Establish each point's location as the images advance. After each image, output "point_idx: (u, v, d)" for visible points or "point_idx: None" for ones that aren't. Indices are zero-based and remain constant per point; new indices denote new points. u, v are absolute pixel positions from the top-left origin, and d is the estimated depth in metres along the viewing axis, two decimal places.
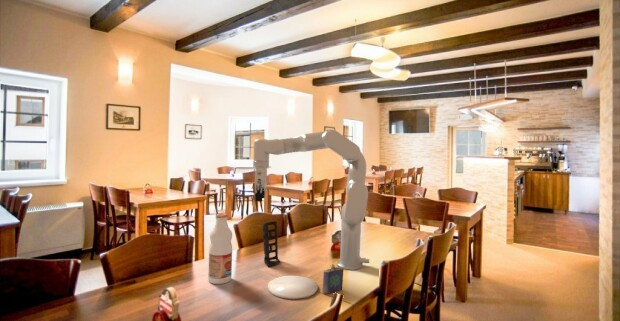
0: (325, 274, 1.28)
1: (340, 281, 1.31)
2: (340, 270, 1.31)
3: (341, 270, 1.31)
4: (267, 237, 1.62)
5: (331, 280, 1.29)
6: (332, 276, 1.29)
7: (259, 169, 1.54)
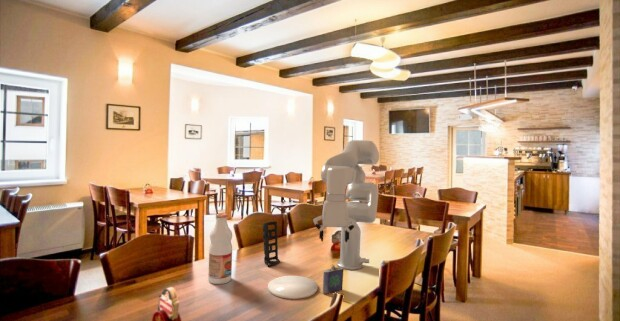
0: (325, 274, 1.28)
1: (340, 281, 1.31)
2: (340, 270, 1.31)
3: (341, 270, 1.31)
4: (267, 237, 1.62)
5: (331, 280, 1.29)
6: (332, 276, 1.29)
7: (346, 203, 1.30)
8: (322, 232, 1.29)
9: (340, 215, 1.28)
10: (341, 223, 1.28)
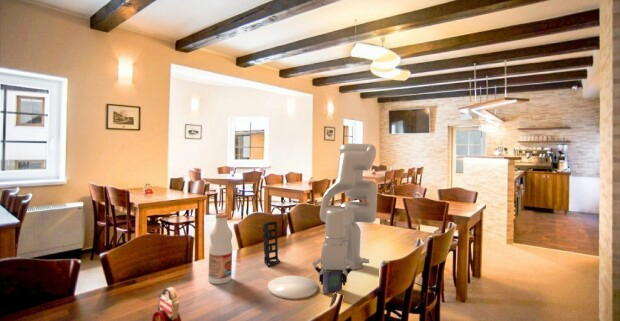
0: (325, 274, 1.28)
1: (340, 281, 1.31)
2: (340, 270, 1.31)
3: (341, 270, 1.31)
4: (267, 237, 1.62)
5: (330, 280, 1.29)
6: (331, 276, 1.29)
7: (345, 246, 1.30)
8: (322, 276, 1.29)
9: (339, 258, 1.28)
10: (340, 266, 1.29)
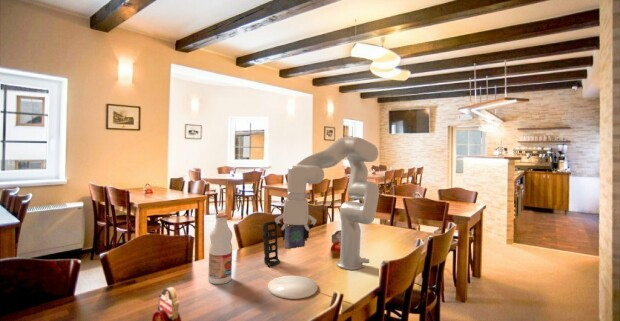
0: (286, 229, 1.29)
1: (302, 237, 1.33)
2: (302, 226, 1.32)
3: (303, 226, 1.33)
4: (267, 237, 1.62)
5: (292, 236, 1.30)
6: (293, 231, 1.31)
7: (307, 202, 1.32)
8: (284, 231, 1.30)
9: (300, 213, 1.30)
10: (302, 221, 1.30)
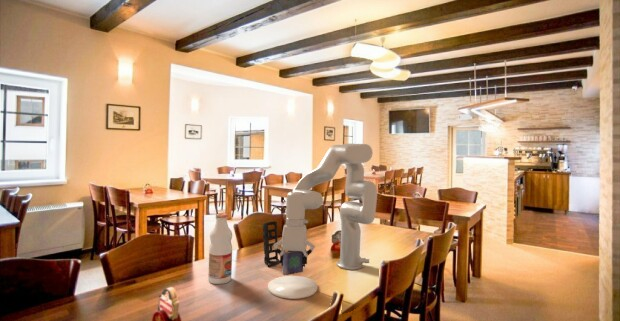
0: (284, 255, 1.29)
1: (300, 262, 1.33)
2: (300, 252, 1.33)
3: (301, 252, 1.33)
4: (267, 237, 1.62)
5: (290, 262, 1.31)
6: (291, 257, 1.31)
7: None
8: (282, 257, 1.31)
9: (299, 239, 1.30)
10: (300, 247, 1.30)
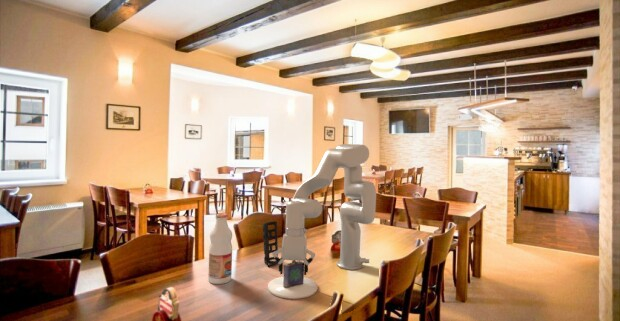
0: (285, 268, 1.30)
1: (301, 275, 1.33)
2: (301, 264, 1.33)
3: (302, 264, 1.33)
4: (267, 237, 1.62)
5: (291, 274, 1.31)
6: (292, 270, 1.31)
7: (305, 237, 1.32)
8: (281, 265, 1.31)
9: (298, 249, 1.30)
10: (300, 257, 1.30)
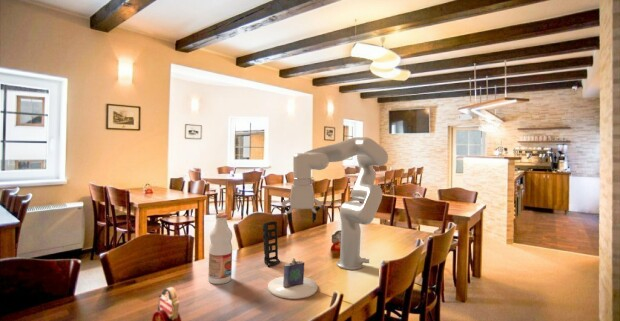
0: (285, 268, 1.30)
1: (301, 275, 1.33)
2: (301, 264, 1.33)
3: (302, 264, 1.33)
4: (267, 237, 1.62)
5: (291, 274, 1.31)
6: (292, 270, 1.31)
7: (312, 187, 1.40)
8: (290, 214, 1.39)
9: (306, 198, 1.38)
10: (308, 205, 1.38)
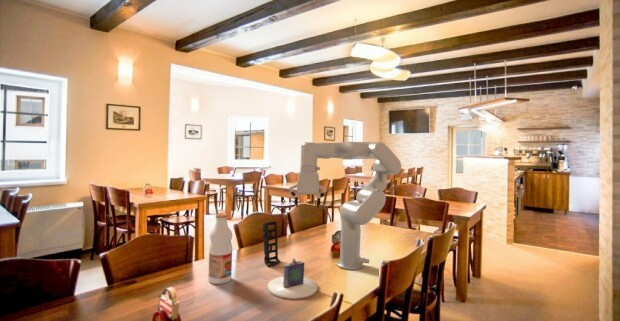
0: (285, 268, 1.30)
1: (301, 275, 1.33)
2: (301, 264, 1.33)
3: (302, 264, 1.33)
4: (267, 237, 1.62)
5: (291, 274, 1.31)
6: (292, 270, 1.31)
7: (318, 174, 1.49)
8: (296, 198, 1.48)
9: (312, 183, 1.47)
10: (313, 191, 1.48)
